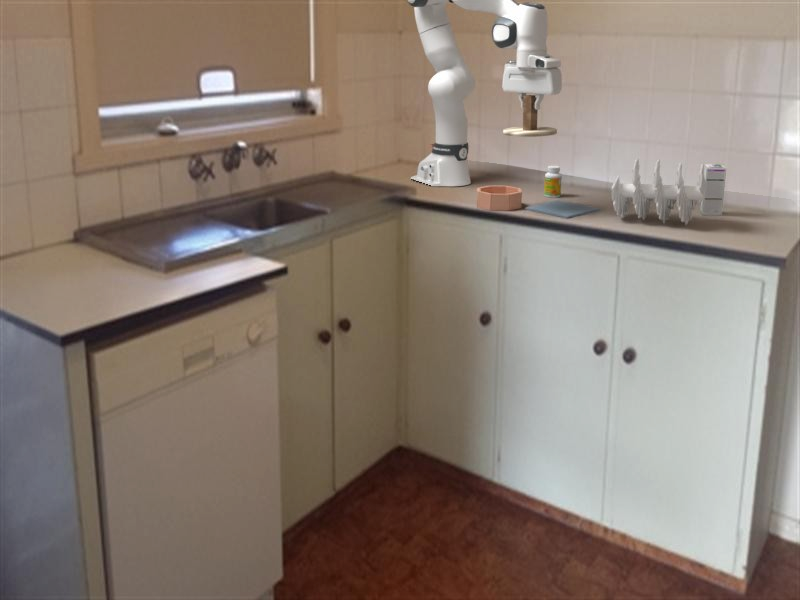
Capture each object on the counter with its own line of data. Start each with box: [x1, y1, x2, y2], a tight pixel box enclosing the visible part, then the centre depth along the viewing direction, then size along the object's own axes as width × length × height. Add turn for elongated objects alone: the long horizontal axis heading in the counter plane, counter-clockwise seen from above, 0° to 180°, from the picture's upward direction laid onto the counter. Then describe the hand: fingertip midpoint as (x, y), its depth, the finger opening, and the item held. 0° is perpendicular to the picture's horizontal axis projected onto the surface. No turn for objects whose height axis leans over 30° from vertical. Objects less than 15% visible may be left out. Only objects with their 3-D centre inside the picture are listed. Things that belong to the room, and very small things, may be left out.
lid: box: [502, 94, 558, 138], centre depth 259 cm, size 16×16×11 cm
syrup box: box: [699, 163, 727, 217], centre depth 258 cm, size 6×6×14 cm
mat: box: [524, 199, 601, 219], centre depth 265 cm, size 16×16×1 cm
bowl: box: [476, 185, 523, 212], centre depth 270 cm, size 14×14×5 cm
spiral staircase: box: [610, 158, 705, 226], centre depth 250 cm, size 18×18×25 cm
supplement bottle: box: [543, 165, 562, 199], centre depth 283 cm, size 5×5×10 cm
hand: (530, 108), depth 259 cm, fingers closed on lid, 3 cm apart
